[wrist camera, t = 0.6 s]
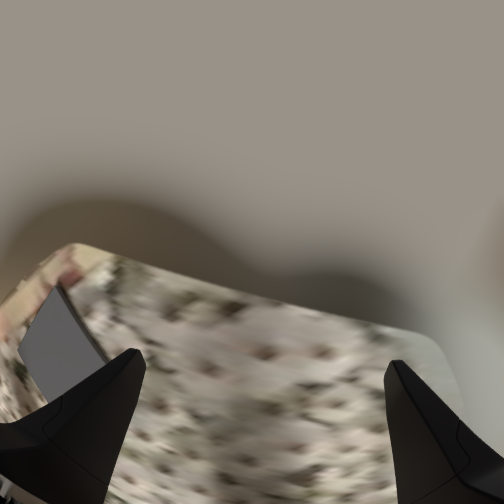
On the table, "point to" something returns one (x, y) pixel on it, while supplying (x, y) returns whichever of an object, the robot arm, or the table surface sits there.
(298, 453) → the table surface
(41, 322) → the mat
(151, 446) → the table surface
